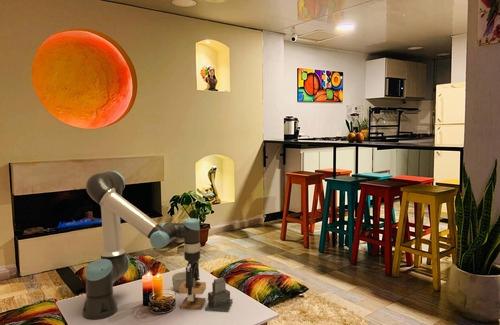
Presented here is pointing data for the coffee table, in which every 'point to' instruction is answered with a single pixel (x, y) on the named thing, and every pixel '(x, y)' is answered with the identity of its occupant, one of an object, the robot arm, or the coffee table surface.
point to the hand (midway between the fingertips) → (192, 297)
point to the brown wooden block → (197, 289)
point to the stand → (193, 302)
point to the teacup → (178, 279)
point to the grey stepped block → (219, 297)
